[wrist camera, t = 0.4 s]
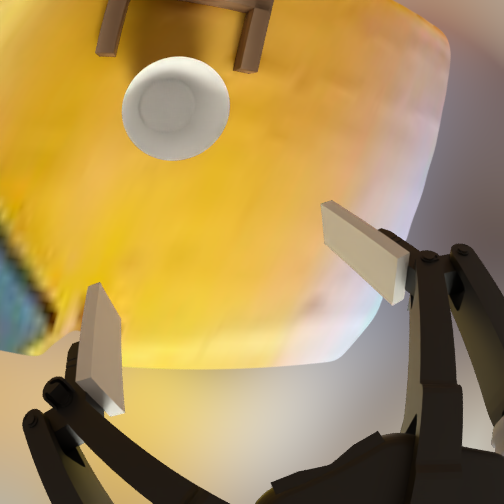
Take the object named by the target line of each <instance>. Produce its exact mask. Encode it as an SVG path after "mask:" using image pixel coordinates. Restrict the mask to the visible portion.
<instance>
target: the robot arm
mask: <svg viewBox="0 0 504 504" xmlns="http://www.w3.org/2000/svg"><path fill="white" fill-rule="evenodd" d="M321 211H322V222H323V232H324V244H325V245H327V246H328V247H329V248H330V249H331V250H332V251H333V252H334V253H336V254H337V255H338V256H339V257H340V258H341V259H342V260H343V261H345V262H346V263H347V264H348V265H349V266H350V267H351V268H352V269H353V270H354V271H356V272H357V273H358V274H359V275H360V276H361V277H362V278H363V279H364V280H365V281H366V282H368V283H369V284H370V285H371V286H372V287H373V288H374V289H375V290H376V291H377V292H378V293H379V294H380V295H381V296H383V297H384V298H385V299H386V300H387V301H388V302H389V303H390V304H391V305H394V304H396V303H398V302H399V301H401V300H403V299H404V294H405V290H406V291H408V292H409V293H410V298H409V304H408V309H407V310H409V311H410V334H409V337H410V338H409V365H408V382H407V394H406V405H405V414H404V420H403V424H402V428H401V432H400V433H392V434H386V435H382V436H381V435H380V433H379V432H378V431H377V432H375V433H374V434H372V435H370V436H368V437H367V438H365V439H363V440H361V441H360V442H358V443H356V444H354V445H353V446H352V447H350V448H349V449H348V450H347V451H346V452H345V453H344V454H342V455H341V456H340V457H339V458H338V459H337V460H335V461H334V462H333V463H332V464H330V465H327V466H323V467H318V468H314V469H309V470H304V471H299V472H296V473H294V474H291V475H289V476H286V477H284V478H281V479H279V480H276V481H274V482H271V485H272V488H271V489H270V490H268V491H267V492H266V493H264V494H263V495H262V496H261V497H260V498H259V499H258V500H257V502H256V503H255V504H504V296H503V295H502V293H501V291H500V290H499V288H498V286H497V285H496V283H495V282H494V280H493V278H492V277H491V275H490V274H489V272H488V271H487V269H486V268H485V266H484V265H483V263H482V262H481V260H480V259H479V257H478V256H477V254H476V253H475V252H474V250H473V249H472V248H471V247H469V246H468V245H465V244H455V245H453V246H452V247H451V252H450V254H447V255H442V256H439V255H438V254H437V253H435V252H433V251H428V250H425V251H419V250H417V249H416V248H414V247H413V246H412V245H410V244H409V243H407V242H406V241H404V240H402V239H401V238H400V237H397V235H395V234H394V233H392V232H391V231H388V230H385V229H382V228H381V229H379V230H377V229H375V228H374V227H372V226H371V225H369V224H368V223H366V222H365V221H363V220H362V219H360V218H359V217H357V216H356V215H354V214H353V213H351V212H350V211H348V210H347V209H345V208H343V207H342V206H340V205H339V204H337V203H336V202H334V201H332V200H331V201H328V202H324V203H321ZM450 309H451V312H452V314H453V316H454V319H455V321H456V323H457V326H458V328H459V331H460V333H461V335H462V338H463V341H464V343H465V346H466V349H467V351H468V354H469V357H470V359H471V362H472V365H473V367H474V370H475V374H476V377H477V380H478V382H479V385H480V389H481V392H482V395H483V399H484V402H485V406H486V409H487V412H488V415H489V417H490V420H491V422H492V424H493V426H494V429H493V433H492V434H493V438H492V440H491V445H492V446H493V447H494V448H495V452H489V451H483V450H478V449H472V448H468V447H463V446H462V429H463V396H462V395H463V393H462V387H461V386H460V385H458V384H457V380H456V363H455V348H454V338H453V328H452V320H451V313H450ZM66 368H67V369H66V371H65V379H64V378H62V377H54V378H52V379H51V380H50V381H48V382H47V383H46V385H45V387H44V389H43V398H44V400H45V401H46V402H47V403H49V405H51V406H52V407H53V408H52V409H50V410H49V411H47V412H45V413H44V414H43V413H42V412H41V411H40V410H38V409H32V410H30V411H29V412H28V413H27V414H26V415H25V417H24V419H23V423H22V426H23V431H24V434H25V437H26V440H27V443H28V446H29V449H30V452H31V455H32V458H33V460H34V463H35V466H36V468H37V471H38V473H39V476H40V478H41V481H42V483H43V486H44V488H45V490H46V492H47V495H48V497H49V499H50V501H51V503H52V504H114V503H113V502H112V500H111V499H110V498H109V496H108V494H107V493H106V491H105V490H104V488H103V487H102V485H101V484H100V482H99V480H98V479H97V477H96V475H95V474H94V472H93V470H92V468H91V467H90V465H89V463H88V462H87V460H86V458H85V456H84V454H83V452H82V451H81V449H80V447H79V445H81V444H83V443H86V444H87V445H88V447H90V449H91V450H92V451H93V452H94V453H95V454H96V455H97V456H98V457H100V458H101V459H102V460H103V461H104V462H105V463H106V464H107V465H108V466H109V467H110V468H111V469H112V470H113V471H114V472H116V473H117V474H118V475H119V476H120V477H121V478H122V479H124V480H125V481H126V482H127V483H128V484H130V485H131V486H132V487H133V488H134V489H135V490H137V491H138V492H139V493H140V494H142V495H143V496H144V497H145V498H147V499H148V500H149V501H151V502H152V503H153V504H230V503H228V502H226V501H224V500H222V499H220V498H218V497H217V496H215V495H213V494H211V493H209V492H208V491H206V490H204V489H202V488H201V487H198V486H197V485H195V484H194V483H192V482H190V481H189V480H187V479H186V478H184V477H183V476H181V475H179V474H178V473H176V472H175V471H173V470H172V469H170V468H169V467H167V466H166V465H164V464H163V463H162V462H160V461H159V460H157V459H156V458H155V457H153V456H152V455H150V454H149V453H147V452H146V451H145V450H144V449H142V448H141V447H140V446H138V445H137V444H136V443H134V442H133V441H132V440H131V439H129V438H128V437H127V436H126V435H124V434H123V433H122V432H121V431H119V430H118V429H117V428H116V427H115V426H114V425H112V424H111V423H110V422H109V421H108V420H107V419H105V418H104V411H105V412H106V413H107V414H108V415H109V416H115V415H119V414H123V413H125V408H124V395H123V381H122V357H121V318H120V316H119V315H118V313H117V311H116V310H115V308H114V306H113V304H112V303H111V301H110V299H109V298H108V296H107V294H106V292H105V291H104V289H103V287H102V285H101V283H100V282H99V283H96V284H94V285H91V286H89V287H88V290H87V295H86V301H85V307H84V313H83V319H82V326H81V334H80V341H79V342H76V343H74V344H72V346H71V347H70V349H69V351H68V357H67V363H66Z"/></svg>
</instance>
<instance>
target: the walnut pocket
mask: <svg viewBox="0 0 504 504" xmlns="http://www.w3.org/2000/svg"><path fill="white" fill-rule="evenodd" d="M178 1H185V2H192V3H198V4H204V5H210V6H215V7H220V8H225V9H230V10H234V11H239V12H243V13H246V17H245V21H244V25H243V30H242V34H241V38H240V42H239V47H238V51H237V56H236V60H235V65H234V69H233V71H238V72H243V73H248V74H250V73H256V72H258V68H259V63H260V58H261V54H262V49H263V45H264V41H265V36H266V32H267V27H268V23H269V19H270V15H271V10H272V6H273V2H274V0H178ZM129 2H130V0H109V1H108V4H107V8H106V11H105V15H104V18H103V22H102V26H101V30H100V34H99V38H98V43H97V47H96V52H95V53H96V54H97V55H98V56H105V57H116V53H117V49H118V44H119V40H120V36H121V32H122V28H123V24H124V20H125V16H126V13H127V9H128V5H129Z"/></svg>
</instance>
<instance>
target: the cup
mask: <svg viewBox="0 0 504 504" xmlns="http://www.w3.org/2000/svg"><path fill="white" fill-rule="evenodd" d="M229 110H230V101H229V94H228V91H227V88H226V86H225V83H224V82H223V80H222V78H221V77H220V76H219V74H218V73H217V72H216V71H215V70H214V69H213V68H211V67H210V66H209V65H207V64H205V63H204V62H202V61H199V60H197V59H193V58H189V57H169V58H164V59H161V60H158V61H156V62H154V63H152V64H150V65H148V66H147V67H145V68H144V69H143V70H142V71H140V72H139V73H138V74H137V75H136V76H135V78H134V79H133V80H132V82H131V83H130V85H129V87H128V89H127V91H126V93H125V96H124V99H123V105H122V119H123V124H124V127H125V130H126V132H127V134H128V136H129V138H130V139H131V141H132V142H133V143H134V144H135V145H136V146H137V147H138V148H139V149H140V150H141V151H143V152H144V153H146V154H148V155H150V156H152V157H155V158H158V159H162V160H170V161H175V160H183V159H188V158H191V157H194V156H196V155H198V154H200V153H202V152H203V151H205V150H206V149H208V148H209V147H210V146H211V145H212V144H213V143H214V142H215V141H216V140H217V139H218V138H219V136H220V135H221V133H222V132H223V130H224V128H225V126H226V123H227V120H228V116H229Z"/></svg>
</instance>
